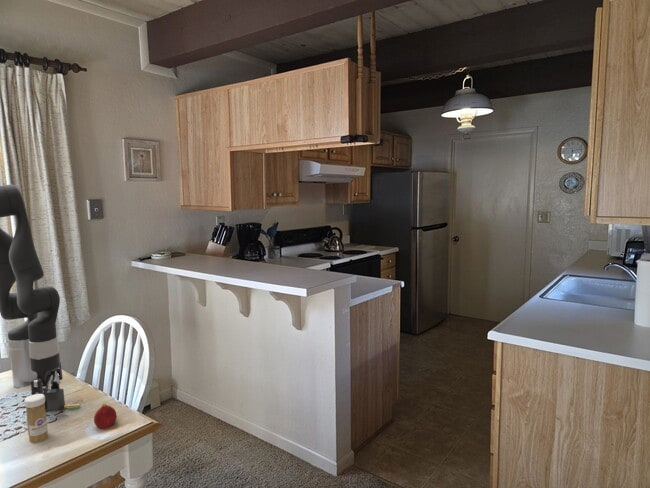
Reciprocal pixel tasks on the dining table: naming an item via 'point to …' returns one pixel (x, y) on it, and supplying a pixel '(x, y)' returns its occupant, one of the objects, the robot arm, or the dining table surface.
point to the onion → (105, 417)
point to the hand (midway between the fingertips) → (49, 403)
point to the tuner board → (69, 409)
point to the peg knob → (57, 400)
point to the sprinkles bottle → (36, 418)
